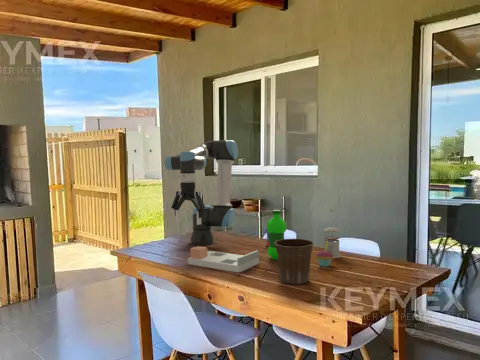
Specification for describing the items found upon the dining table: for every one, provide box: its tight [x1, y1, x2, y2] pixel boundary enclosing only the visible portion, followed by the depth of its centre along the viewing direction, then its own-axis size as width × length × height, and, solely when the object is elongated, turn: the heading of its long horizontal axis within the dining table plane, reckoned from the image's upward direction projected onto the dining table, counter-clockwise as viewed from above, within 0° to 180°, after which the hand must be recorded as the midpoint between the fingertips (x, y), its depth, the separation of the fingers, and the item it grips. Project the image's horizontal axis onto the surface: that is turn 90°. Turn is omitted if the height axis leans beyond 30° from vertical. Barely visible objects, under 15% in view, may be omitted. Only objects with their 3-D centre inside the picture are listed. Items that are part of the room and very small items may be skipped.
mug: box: [264, 227, 269, 247], centre depth 225 cm, size 12×9×11 cm
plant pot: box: [274, 238, 314, 285], centre depth 159 cm, size 16×16×16 cm
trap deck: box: [187, 250, 260, 273], centre depth 186 cm, size 30×18×6 cm, turn 58°
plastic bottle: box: [266, 209, 287, 261], centre depth 196 cm, size 10×10×25 cm
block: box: [189, 245, 208, 259], centre depth 189 cm, size 6×6×4 cm
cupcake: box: [315, 240, 334, 268], centre depth 182 cm, size 9×8×12 cm
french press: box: [322, 208, 342, 259], centre depth 201 cm, size 10×12×25 cm
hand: (188, 223), depth 193 cm, fingers open, 13 cm apart
